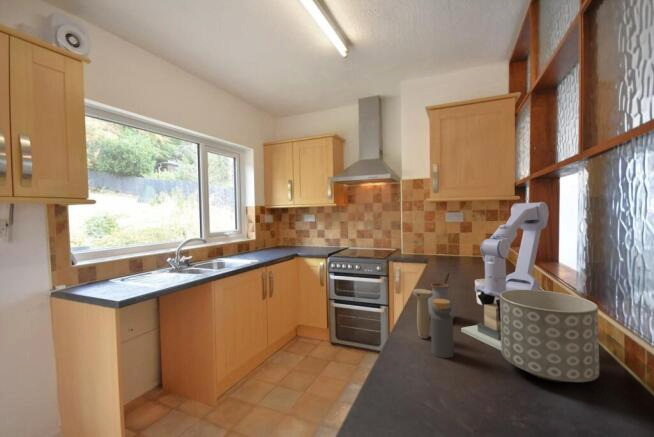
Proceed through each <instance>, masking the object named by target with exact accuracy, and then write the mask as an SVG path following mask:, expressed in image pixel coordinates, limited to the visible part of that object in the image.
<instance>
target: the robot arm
mask: <svg viewBox="0 0 654 437" xmlns="http://www.w3.org/2000/svg"><path fill="white" fill-rule="evenodd" d="M549 215H550V212H549V207H548V205H547V203H546V202H545V201H540V202H523V203H522V202H521V203H520V202H516V203H514V204H513V205H512V206H511V208H510V216H509V218H508V220H507V222H506V223H505V224H501V225H499V227H497V229H495V231H494V233H493V234H492V235H491V236H490V238H486V239H484V240H483V241H482V242H481V244H480V247H479V249H480V253H481V255H482V261H483V262H484V279H485V286H480V285H478V286H474V292H475V293H476V292H481V294H480V295H478V298H479V299H480V301H481V303H482V305H481V306H482V307H483V308H484V305H486V304H492V303H494V300H495V297H499V298H500V294H501V293H502V292H504V291H508V290H541V283H540V281H539V280H538V279H537V278H535V276H533V272H534V268H535V263H536V258H537V252H538V248H539V243H540V237H541V232H542V230H544V229H545V228H546V227H547V224H548V221H549ZM518 229H521V230H523V233H522V238H521V240H520V241H521V242H520V246H519V252H518V256H517V261H516V264H515V265H516V266H515V271H514V272H511V273H509V274H507V273H506V272H507V271H506V270H507V269H506V258H507V257H508V256H509V254H510V251H511V250H510V249H511V246H512V243H513V242H514V240H515V239H516V238H517V236H518V232H517V230H518ZM496 303H497V306H498V310H499V319H500V322H501V318H500V299H499V300H496Z"/></svg>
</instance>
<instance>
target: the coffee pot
mask: <svg viewBox="0 0 654 437" xmlns="http://www.w3.org/2000/svg"><path fill="white" fill-rule="evenodd" d="M450 275H451V276H450ZM451 277H452V274H451V273H450V272H447V273H446V274H445V277H444V279H443V283H442V282H440V283H439V282H433V283H430V287H431V289H432V290H431V291H432V292H433V296H432V297H430V298H428V307H429V319H430V320H431V315H432V314H433V313H434V311H433V310H432V306H433V305H434V304H433V300H434V299H446V300H449V301H450V307H451V312H450V313H449V315H451V316H452V317H453V319H454V318H456V315H457V310H456V308H455V306H454V303H453V301H452V299H451V297H450V295H449V292H448V289H449V288H450V285H449V284H447V282H448V280H449V278H451Z"/></svg>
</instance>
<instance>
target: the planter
mask: <svg viewBox="0 0 654 437" xmlns="http://www.w3.org/2000/svg"><path fill="white" fill-rule="evenodd" d="M500 318H501V350H500V351H501V355H502V356H503V358H504V359H505V360H506V361H507V362H508V363H510V364H512V365H513V366H515V367H517V368H518V369H521V370H523V371H525V372H527V373H528V374H530V375H533V376H535V377H537V378H539V379H542V380H546V381H550V382H555V383H556V382H557V383H586V382H592V381H595V380H596V379H598V378H599V376H600V351H599V350H600V349H599V342H600V341H599V306H598V304H596V303H595V302H593V301H591V300H589V299H586V298H583V297H579V296H576V295H572V294H567V293H562V292H557V291H550V290H541V289H540V290H508V291H504V292H502V293H501V294H500Z"/></svg>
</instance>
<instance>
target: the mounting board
mask: <svg viewBox="0 0 654 437" xmlns="http://www.w3.org/2000/svg"><path fill="white" fill-rule="evenodd" d="M460 329H461V330H460V331H461V333H464V334H466V335H468V336H470V337H471V338H474V339H475V340H478V341H480V342H481V343H482V342H483V343H484V344H486V345H488V346H491V347H493V348H495V349H497V350H499V351H501V340H499V341H498V340H496V339H494V338H491V337H489V336H487V335H485V334H482V333H480V332H478V328H477V324H474V325H471V326H465V327H461V328H460Z"/></svg>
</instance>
